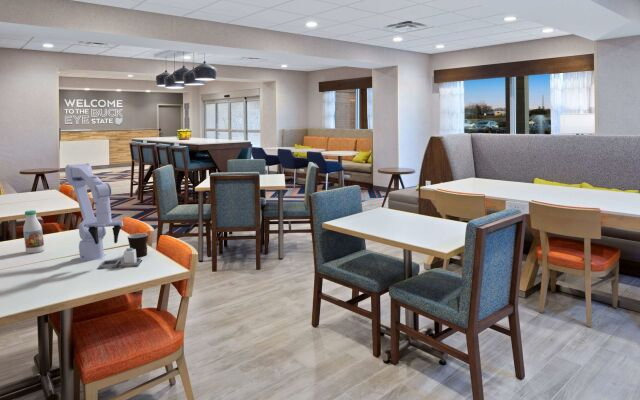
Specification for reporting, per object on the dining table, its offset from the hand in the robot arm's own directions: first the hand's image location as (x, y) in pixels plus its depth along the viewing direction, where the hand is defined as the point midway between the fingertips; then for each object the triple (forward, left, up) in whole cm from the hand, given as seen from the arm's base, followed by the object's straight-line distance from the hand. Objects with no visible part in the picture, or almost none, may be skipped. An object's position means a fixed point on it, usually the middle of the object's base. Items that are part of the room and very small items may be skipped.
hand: (106, 243), depth 198 cm
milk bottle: (-42, +31, -10) cm, 53 cm away
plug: (+10, -2, -9) cm, 14 cm away
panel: (+6, -2, -10) cm, 12 cm away
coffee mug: (+11, +12, -10) cm, 19 cm away
